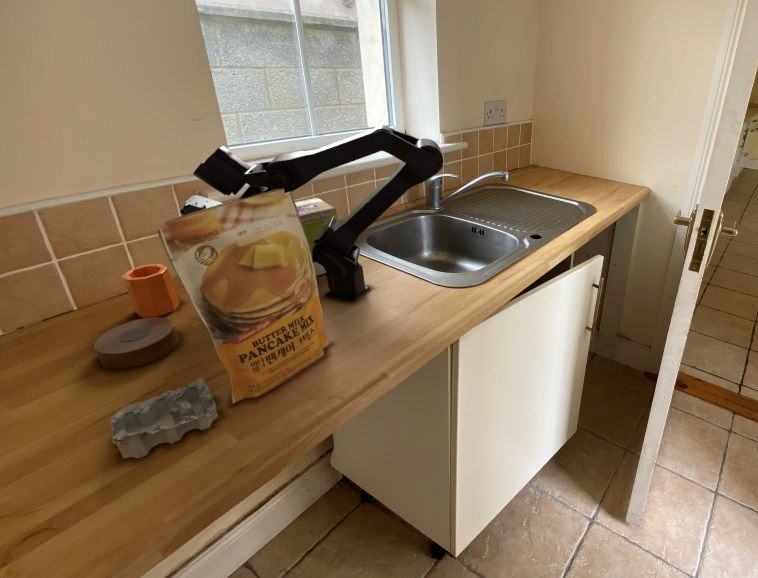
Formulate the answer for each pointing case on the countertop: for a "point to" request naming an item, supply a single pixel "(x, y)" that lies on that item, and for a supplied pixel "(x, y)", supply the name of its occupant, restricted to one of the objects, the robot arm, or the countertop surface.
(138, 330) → the walnut ring base
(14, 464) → the countertop surface
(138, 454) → the egg carton
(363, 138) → the robot arm
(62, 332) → the countertop surface
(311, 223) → the tea box
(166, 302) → the orange faceted cup
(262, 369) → the pancake mix bag
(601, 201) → the countertop surface
